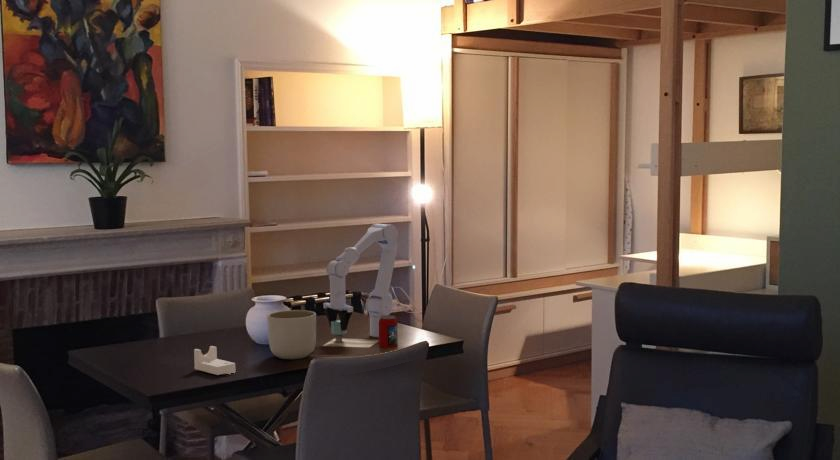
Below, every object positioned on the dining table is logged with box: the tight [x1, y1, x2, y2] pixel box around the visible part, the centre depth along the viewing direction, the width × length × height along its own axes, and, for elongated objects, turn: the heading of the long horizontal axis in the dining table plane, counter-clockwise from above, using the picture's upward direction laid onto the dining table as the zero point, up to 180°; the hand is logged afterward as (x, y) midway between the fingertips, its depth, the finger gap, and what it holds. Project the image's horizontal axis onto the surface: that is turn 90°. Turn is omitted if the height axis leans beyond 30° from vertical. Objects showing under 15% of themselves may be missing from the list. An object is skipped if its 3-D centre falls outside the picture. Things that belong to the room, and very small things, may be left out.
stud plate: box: [322, 334, 379, 349], centre depth 353 cm, size 14×18×4 cm
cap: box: [330, 319, 347, 336], centre depth 354 cm, size 6×6×4 cm
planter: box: [266, 309, 317, 360], centre depth 336 cm, size 17×17×15 cm
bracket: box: [193, 345, 237, 376], centre depth 315 cm, size 13×7×8 cm, turn 47°
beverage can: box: [378, 314, 399, 349], centre depth 346 cm, size 7×7×12 cm
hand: (338, 329), depth 354 cm, fingers closed on cap, 5 cm apart
